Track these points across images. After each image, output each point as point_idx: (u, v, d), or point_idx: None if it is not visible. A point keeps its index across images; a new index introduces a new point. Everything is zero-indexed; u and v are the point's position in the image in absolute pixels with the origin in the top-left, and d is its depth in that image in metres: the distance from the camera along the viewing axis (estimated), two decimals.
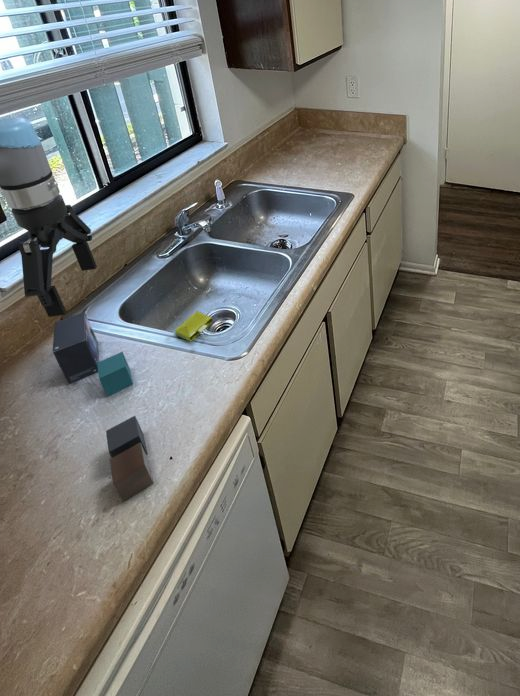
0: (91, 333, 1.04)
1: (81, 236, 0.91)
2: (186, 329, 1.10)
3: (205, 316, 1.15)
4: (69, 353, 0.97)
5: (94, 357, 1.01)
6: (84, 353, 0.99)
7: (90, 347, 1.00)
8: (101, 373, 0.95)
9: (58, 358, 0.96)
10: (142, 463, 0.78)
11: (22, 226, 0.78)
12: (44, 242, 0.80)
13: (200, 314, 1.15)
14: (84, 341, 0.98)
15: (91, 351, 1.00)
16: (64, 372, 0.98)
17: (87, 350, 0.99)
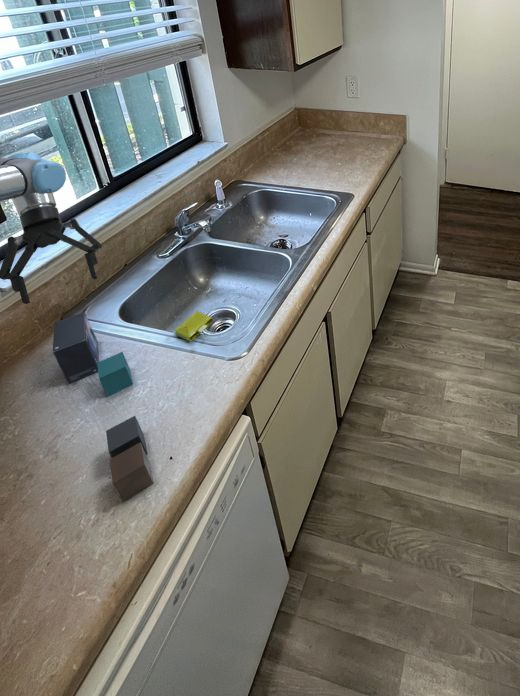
0: (91, 333, 1.04)
1: None
2: (186, 329, 1.10)
3: (205, 316, 1.15)
4: (69, 353, 0.97)
5: (94, 357, 1.01)
6: (84, 353, 0.99)
7: (90, 347, 1.00)
8: (101, 373, 0.95)
9: (58, 358, 0.96)
10: (142, 463, 0.78)
11: (56, 216, 1.10)
12: None
13: (200, 314, 1.15)
14: (84, 341, 0.98)
15: (91, 351, 1.00)
16: (64, 372, 0.98)
17: (87, 350, 0.99)
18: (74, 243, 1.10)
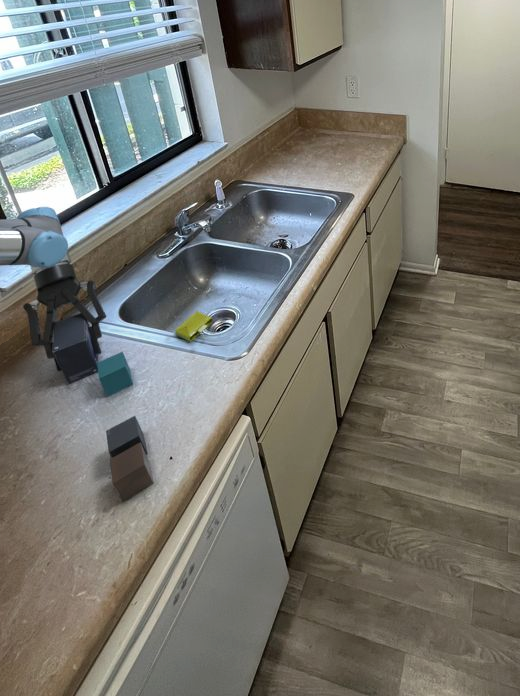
0: None
1: None
2: (186, 329, 1.10)
3: (205, 316, 1.15)
4: (69, 353, 0.97)
5: (94, 357, 1.01)
6: (84, 353, 0.99)
7: (90, 347, 1.00)
8: (101, 373, 0.95)
9: (58, 358, 0.96)
10: (142, 463, 0.78)
11: (72, 274, 1.05)
12: None
13: (200, 314, 1.15)
14: (84, 341, 0.98)
15: (91, 351, 1.00)
16: (64, 372, 0.98)
17: (87, 350, 0.99)
18: (82, 311, 1.03)
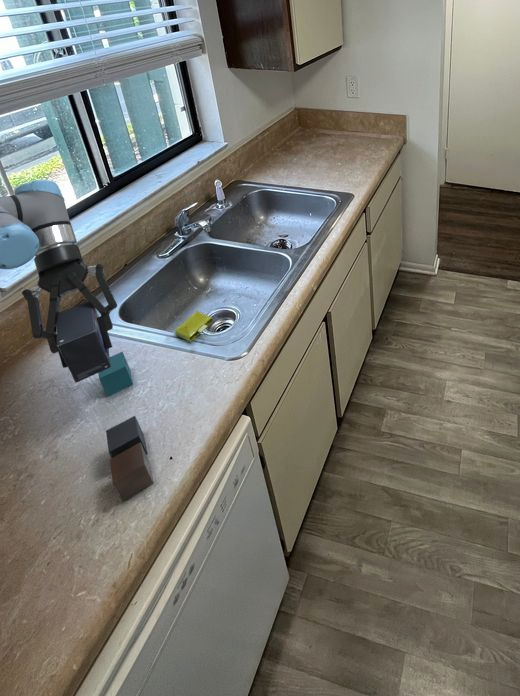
0: None
1: None
2: (186, 329, 1.10)
3: (205, 316, 1.15)
4: (76, 347, 0.83)
5: (105, 351, 0.88)
6: (94, 346, 0.85)
7: (100, 340, 0.87)
8: (101, 373, 0.95)
9: (64, 353, 0.82)
10: (142, 463, 0.78)
11: (78, 256, 0.91)
12: None
13: (200, 314, 1.15)
14: (93, 333, 0.84)
15: (101, 344, 0.87)
16: (71, 369, 0.84)
17: (97, 343, 0.85)
18: (90, 298, 0.90)
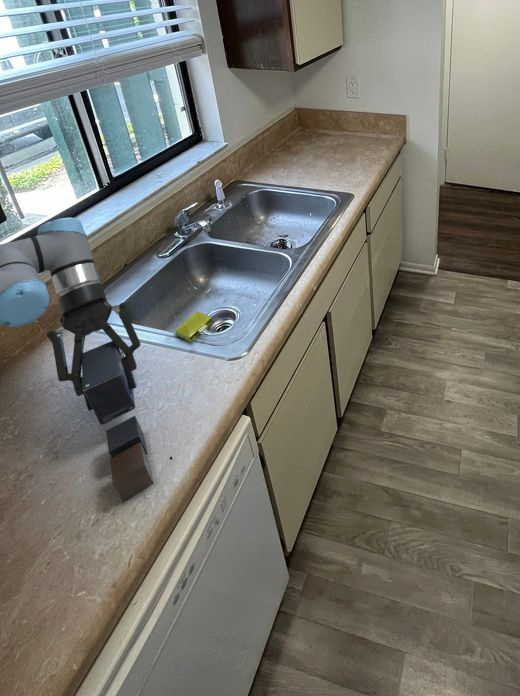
0: None
1: None
2: (186, 329, 1.10)
3: (205, 316, 1.15)
4: (102, 391, 0.83)
5: (130, 393, 0.87)
6: (119, 389, 0.85)
7: (125, 382, 0.86)
8: None
9: (89, 397, 0.82)
10: (142, 463, 0.78)
11: (102, 296, 0.91)
12: None
13: (200, 314, 1.15)
14: (119, 376, 0.84)
15: (126, 386, 0.86)
16: (96, 413, 0.84)
17: (122, 386, 0.85)
18: (114, 339, 0.89)
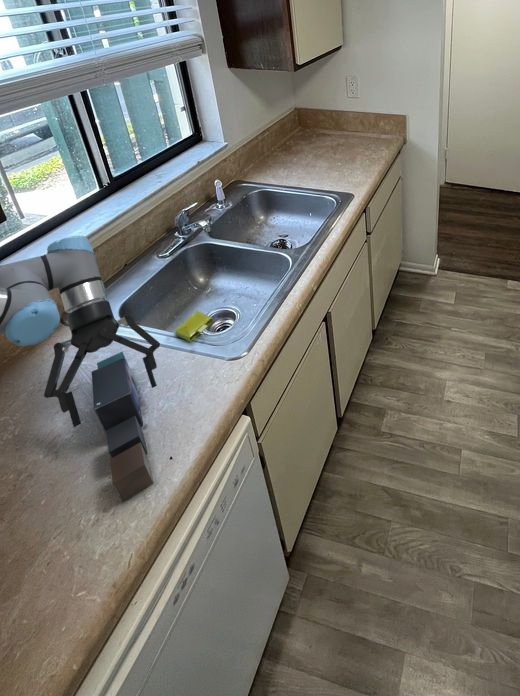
0: (133, 382, 0.93)
1: None
2: (186, 329, 1.10)
3: (205, 316, 1.15)
4: (112, 409, 0.85)
5: (138, 411, 0.90)
6: (128, 407, 0.87)
7: (134, 400, 0.88)
8: None
9: (100, 415, 0.84)
10: (142, 463, 0.78)
11: (109, 313, 0.93)
12: None
13: (200, 314, 1.15)
14: (129, 394, 0.86)
15: (135, 404, 0.89)
16: (106, 430, 0.86)
17: (131, 404, 0.87)
18: (130, 345, 0.92)
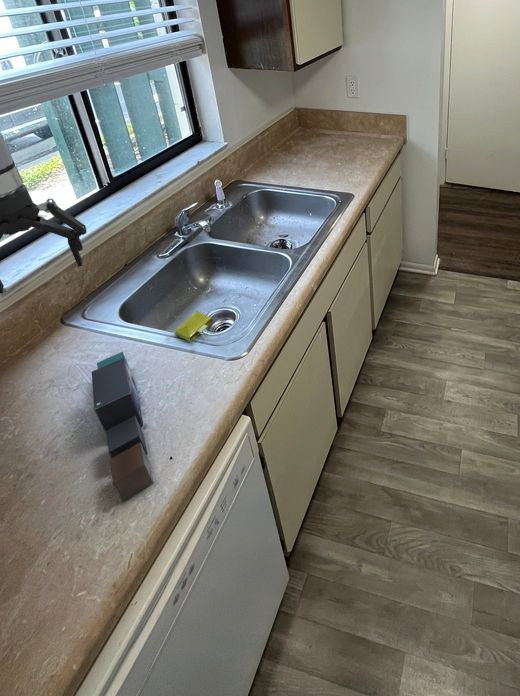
0: (133, 382, 0.93)
1: None
2: (186, 329, 1.10)
3: (205, 316, 1.15)
4: (112, 409, 0.85)
5: (138, 411, 0.90)
6: (128, 407, 0.87)
7: (134, 400, 0.88)
8: None
9: (100, 415, 0.84)
10: (142, 463, 0.78)
11: (28, 202, 0.86)
12: None
13: (200, 314, 1.15)
14: (129, 394, 0.86)
15: (135, 404, 0.89)
16: (106, 430, 0.86)
17: (131, 404, 0.87)
18: (54, 231, 0.91)
